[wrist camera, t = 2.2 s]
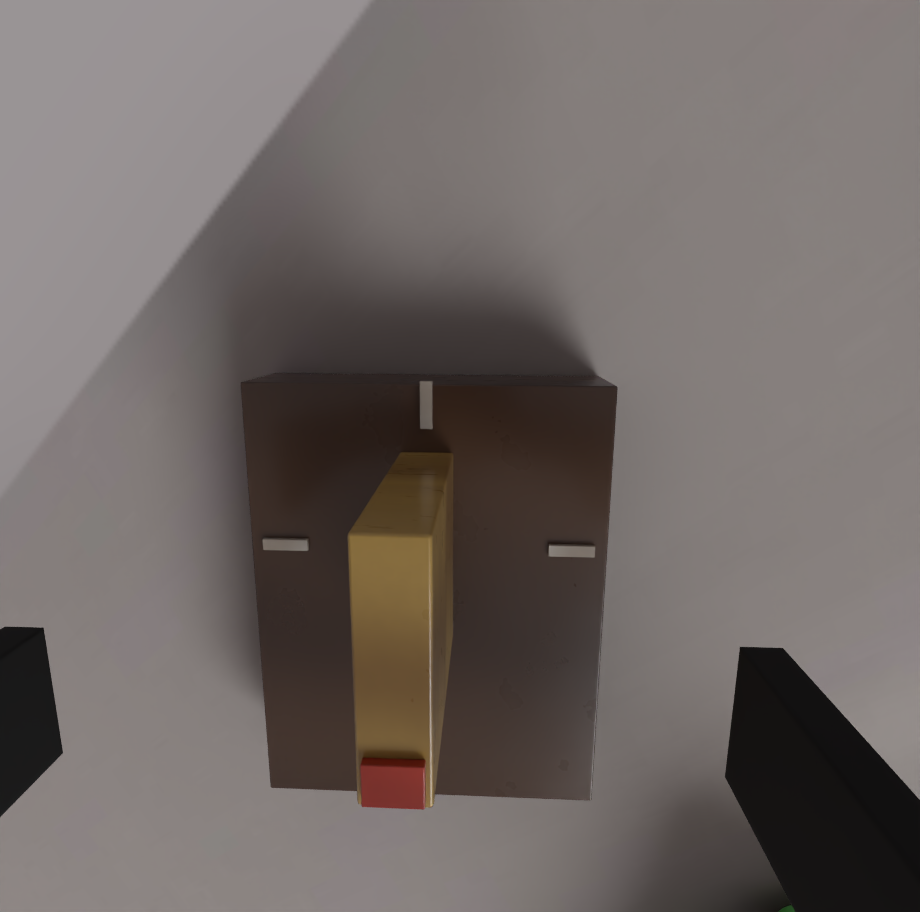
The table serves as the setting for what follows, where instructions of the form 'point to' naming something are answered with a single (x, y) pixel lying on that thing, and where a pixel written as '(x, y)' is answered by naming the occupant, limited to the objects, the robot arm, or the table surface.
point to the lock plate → (474, 566)
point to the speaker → (787, 909)
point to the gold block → (402, 630)
